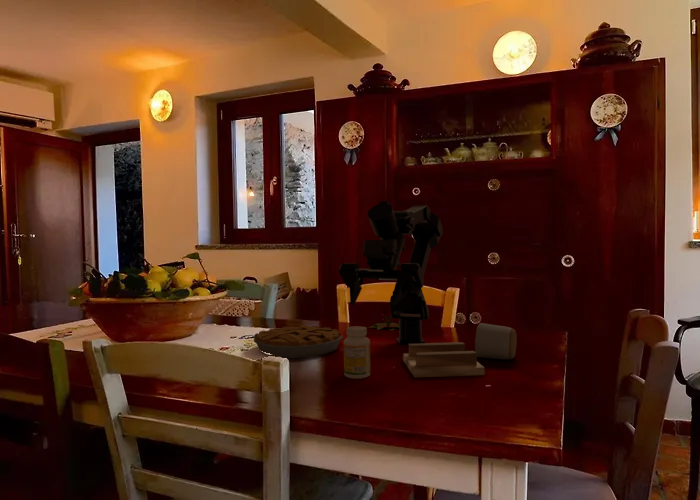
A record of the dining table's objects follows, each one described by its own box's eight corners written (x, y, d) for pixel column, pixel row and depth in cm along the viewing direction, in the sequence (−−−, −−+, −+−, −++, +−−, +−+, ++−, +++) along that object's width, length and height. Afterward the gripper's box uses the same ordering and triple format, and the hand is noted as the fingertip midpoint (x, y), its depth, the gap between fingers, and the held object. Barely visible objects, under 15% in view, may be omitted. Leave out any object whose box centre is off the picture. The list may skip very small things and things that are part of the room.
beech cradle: (403, 360, 114) (402, 342, 114) (464, 358, 115) (464, 340, 115) (414, 377, 100) (414, 357, 100) (484, 375, 101) (484, 354, 101)
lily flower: (415, 327, 156) (415, 312, 156) (393, 334, 147) (393, 318, 147) (383, 324, 164) (382, 309, 163) (360, 329, 154) (360, 314, 154)
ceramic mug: (512, 363, 109) (512, 328, 109) (474, 360, 113) (474, 325, 113) (519, 353, 119) (519, 321, 119) (483, 351, 122) (483, 319, 122)
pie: (286, 365, 112) (286, 342, 112) (237, 349, 129) (237, 330, 129) (360, 349, 127) (359, 329, 127) (307, 337, 143) (307, 319, 143)
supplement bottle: (359, 380, 99) (358, 331, 98) (338, 376, 102) (337, 328, 102) (376, 374, 103) (375, 327, 103) (355, 370, 106) (354, 324, 106)
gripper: (341, 228, 118) (319, 279, 108) (419, 226, 110) (403, 281, 100) (356, 260, 125) (336, 311, 115) (430, 260, 117) (416, 315, 107)
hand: (371, 305), depth 109 cm, fingers open, 9 cm apart
